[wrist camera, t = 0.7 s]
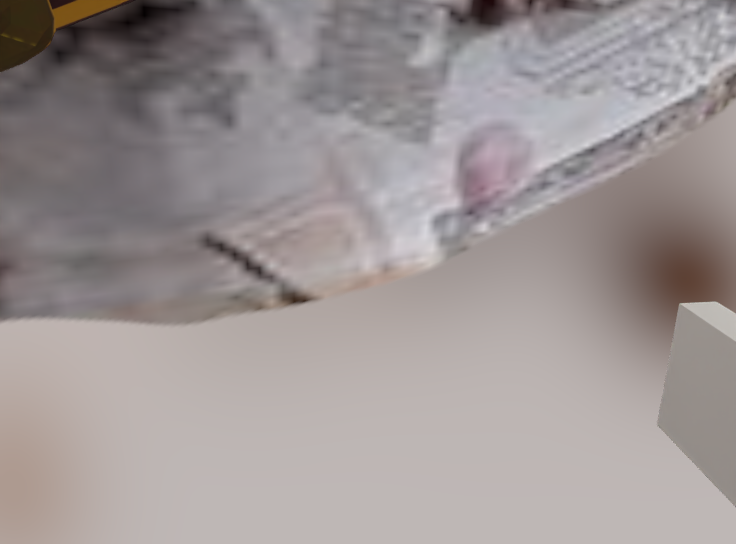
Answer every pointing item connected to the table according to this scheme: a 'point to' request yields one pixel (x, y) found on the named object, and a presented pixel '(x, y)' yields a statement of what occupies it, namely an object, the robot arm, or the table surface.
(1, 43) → the decorative lantern
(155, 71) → the table surface
